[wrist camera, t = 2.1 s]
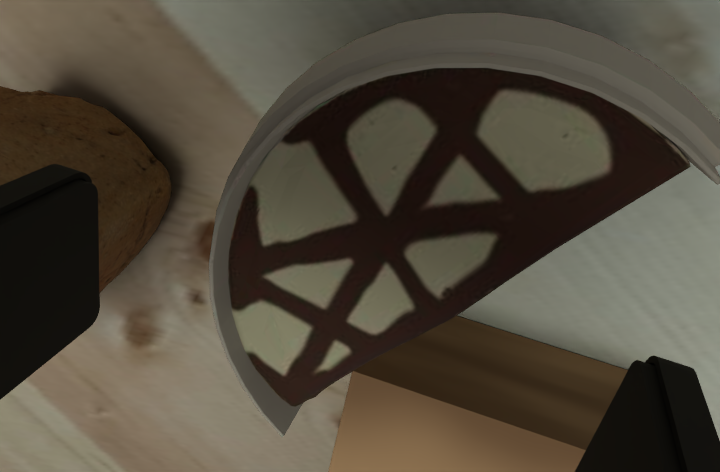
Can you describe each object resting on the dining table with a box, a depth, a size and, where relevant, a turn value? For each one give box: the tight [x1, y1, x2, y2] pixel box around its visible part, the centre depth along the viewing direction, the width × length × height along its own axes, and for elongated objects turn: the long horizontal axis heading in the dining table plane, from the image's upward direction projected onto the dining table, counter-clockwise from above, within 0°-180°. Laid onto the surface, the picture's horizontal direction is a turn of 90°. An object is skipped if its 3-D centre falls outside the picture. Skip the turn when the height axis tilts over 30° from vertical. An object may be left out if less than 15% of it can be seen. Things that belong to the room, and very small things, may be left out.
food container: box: [209, 12, 720, 437], centre depth 16 cm, size 12×6×10 cm, turn 134°
